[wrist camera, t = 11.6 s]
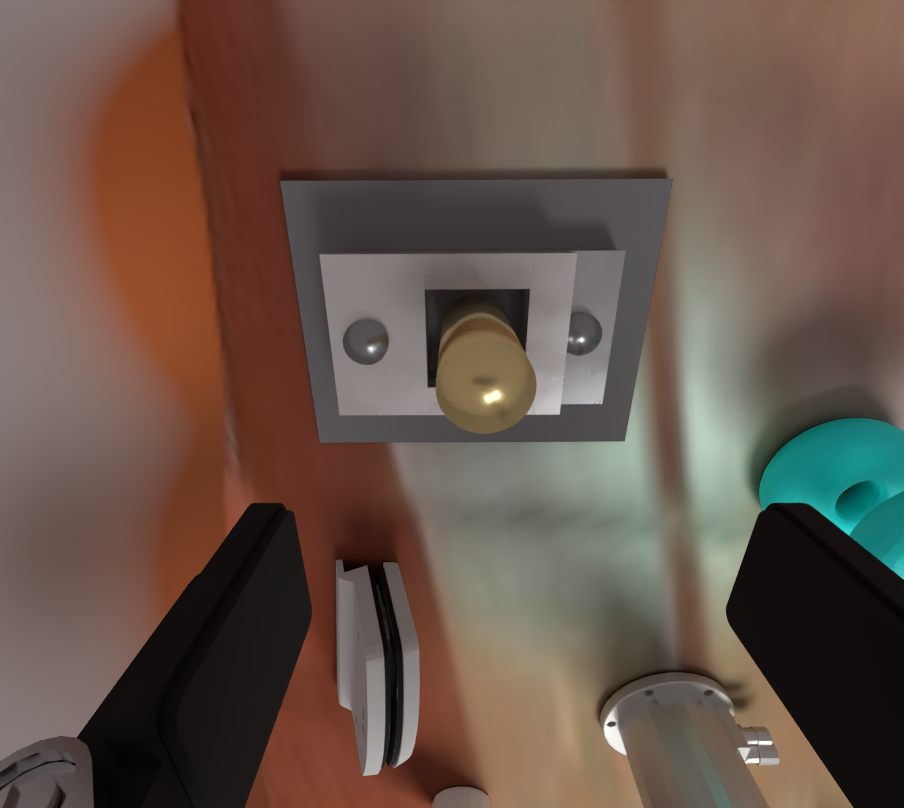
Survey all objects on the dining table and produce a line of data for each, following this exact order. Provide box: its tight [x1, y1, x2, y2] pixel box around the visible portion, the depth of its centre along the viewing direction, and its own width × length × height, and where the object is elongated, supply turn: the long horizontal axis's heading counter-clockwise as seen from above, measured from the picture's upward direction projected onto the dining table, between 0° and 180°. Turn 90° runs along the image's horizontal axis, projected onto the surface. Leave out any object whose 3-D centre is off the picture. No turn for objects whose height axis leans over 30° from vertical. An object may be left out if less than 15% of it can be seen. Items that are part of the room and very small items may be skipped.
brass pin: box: [436, 294, 537, 434], centre depth 21 cm, size 4×4×10 cm
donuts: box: [759, 418, 904, 579], centre depth 26 cm, size 10×10×10 cm
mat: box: [280, 179, 673, 443], centre depth 26 cm, size 21×16×1 cm
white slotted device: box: [336, 560, 420, 776], centre depth 34 cm, size 17×5×10 cm, turn 174°
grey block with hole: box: [319, 249, 626, 415], centre depth 24 cm, size 16×9×4 cm, turn 90°
